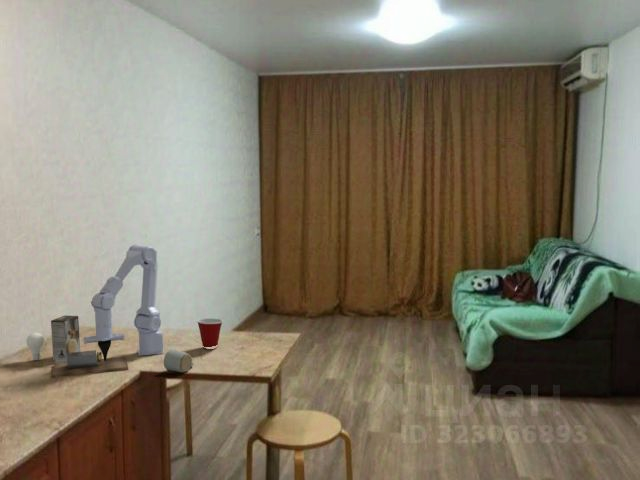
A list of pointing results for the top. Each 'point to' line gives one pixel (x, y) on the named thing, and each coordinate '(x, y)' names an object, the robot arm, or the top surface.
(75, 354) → the block
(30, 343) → the lightbulb
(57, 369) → the base board
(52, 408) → the top surface
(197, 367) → the top surface
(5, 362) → the top surface
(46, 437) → the top surface
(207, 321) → the plastic cup
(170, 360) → the ceramic mug
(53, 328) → the coffee box
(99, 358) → the shaft
